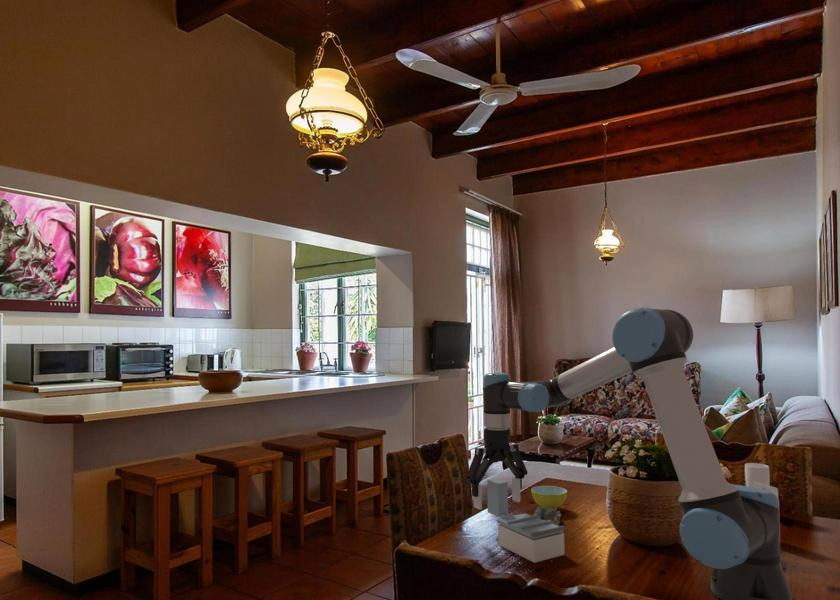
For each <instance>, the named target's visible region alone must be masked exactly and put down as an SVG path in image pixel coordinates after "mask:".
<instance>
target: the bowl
mask: <svg viewBox="0 0 840 600" xmlns="http://www.w3.org/2000/svg"><path fill="white" fill-rule="evenodd" d="M530 491H531V496H532V499H533V501H534V502H535V503H536V504H537V505H538V506H539V507H541V508H547V509H551V510H552V509H554V511H555V512H557V511H558V510H557V509H558V508H559V507H561V506H562V505H563V504H564V503H565V501H566V499H567V496H568V490H567V489H565V488H563V487H560V486H555V485H554V486H553V485H538V486H533V487H532V488H531V490H530Z"/></svg>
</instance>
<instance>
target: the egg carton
mask: <svg viewBox="0 0 840 600" xmlns="http://www.w3.org/2000/svg"><path fill="white" fill-rule="evenodd" d="M534 515H538V518H540V519H543V520H544V521H548V520H550V521H551V523H552V524H554V525H557V526H560V522H561V519H560V517H561V516H562V514H561V511H560V510H556V511H554V509H552V510H551V509H547V508H542V506H540V505H538V506H537V507H536V509H535V510H534V513H533V514H532V516H534Z"/></svg>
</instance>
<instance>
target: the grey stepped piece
mask: <svg viewBox="0 0 840 600" xmlns="http://www.w3.org/2000/svg"><path fill="white" fill-rule="evenodd" d="M486 480H487V482H486V483H487V484H486V485H487V489H486V490H487V492H486V493H487V513H489V514H491V515H493V516H495V517H498V518H497V524H501V525H503V526H505V527H507V528H510V529H512V530H514V531H516V532H519V533H521V534H523V535H525V536H527V537H530V538H532V539H535V538H539V537H544V536H548V535H552V534H556V533H560V532H561V533H564V531H565V530H566V526H565V525H559V526H557V525H554V524H552V523H551V521H550V520H548V521H544V519H543V518H541V519H540V518H538V515H534V514H530V513H527V512H526V513H525V512H524V513H521V514H515V515H513V514H511V513H509V507H508V506H509V505H508V503H509V496H508V495H509V494H508V493H509V492H508V488H509V487H508V484H509V483H508V481H505V480H502V479H499V478H497V477H496V478H491V479H490V478H489V479H486ZM533 515H534V516H533Z"/></svg>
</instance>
